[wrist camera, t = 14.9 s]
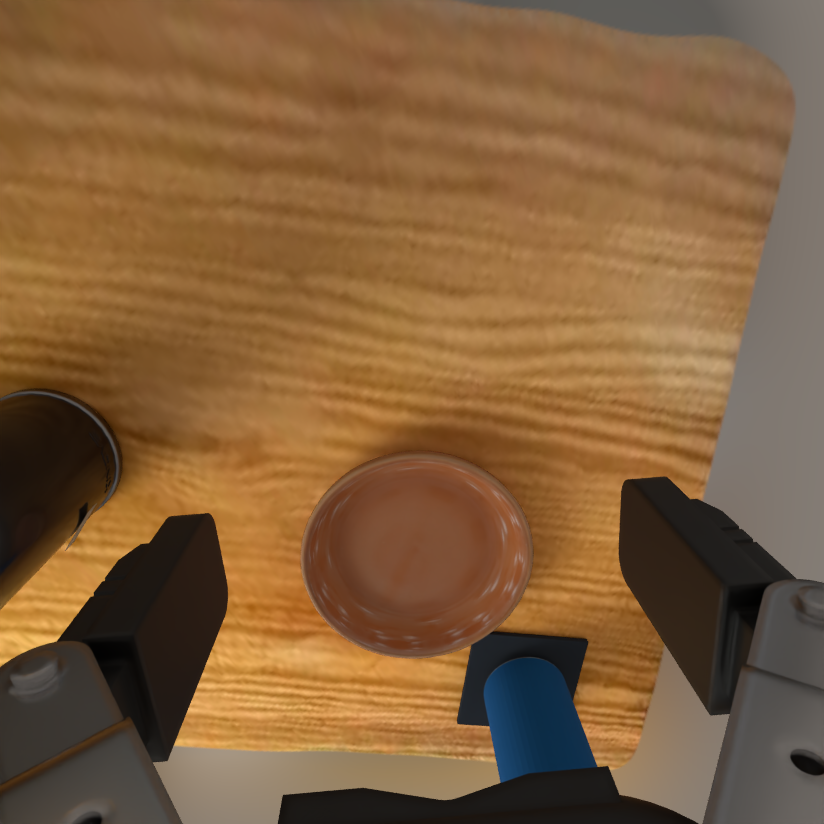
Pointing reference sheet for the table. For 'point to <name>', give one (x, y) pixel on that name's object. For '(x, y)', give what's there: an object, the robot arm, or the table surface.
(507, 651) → the coaster
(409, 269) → the table surface
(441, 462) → the saucer
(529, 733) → the beverage can
